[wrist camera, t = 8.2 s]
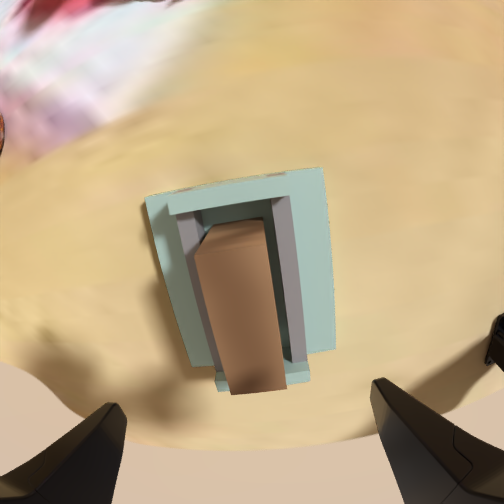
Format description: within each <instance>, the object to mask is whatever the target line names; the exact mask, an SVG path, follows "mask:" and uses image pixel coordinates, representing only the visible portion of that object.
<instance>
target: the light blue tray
mask: <svg viewBox="0 0 504 504" xmlns="http://www.w3.org/2000/svg"><path fill="white" fill-rule="evenodd" d="M145 202H146V207H147V211H148V216H149V220H150V224H151V229H152V233H153V237H154V241H155V245H156V249H157V253H158V257H159V261H160V265H161V269H162V272H163V276H164V280H165V283H166V287H167V290H168V294H169V297H170V301H171V304H172V307H173V311H174V314H175V317H176V320H177V324H178V327H179V330H180V333H181V336H182V339H183V342H184V345H185V348H186V351H187V354H188V357H189V360H190V363H191V365H192V367H200V366H215V369H216V377H215V384H216V387H217V390H218V392H222V391H230V389H229V386H228V383H227V379H226V376H225V373H224V369H223V366H222V362H221V359H220V356H219V352H218V348H217V345H216V341H215V338H214V334H213V330H212V327H211V323H210V319H209V315H208V311H207V308H206V304H205V300H204V296H203V292H202V288H201V284H200V280H199V276H198V271H197V267H196V263H195V259H194V255H195V253H196V251H197V250H198V248H199V247H200V245H201V243H202V242H203V240H204V239H205V237H206V235H207V234H208V232H209V231H210V229H211V227H212V226H213V224H219V223H225V222H231V221H237V220H243V219H250V218H256V217H263V223H264V229H265V236H266V242H267V249H268V255H269V262H270V268H271V275H272V281H273V288H274V295H275V301H276V308H277V315H278V322H279V329H280V337H281V345H282V353H283V361H284V369H285V377H286V385H289V384H296V383H302V382H308V381H310V370H309V366H308V361H307V354H311V353H317V352H323V351H328V350H334V349H336V330H335V301H334V282H333V266H332V252H331V240H330V228H329V218H328V208H327V199H326V191H325V182H324V175H323V168H322V167H315V168H307V169H299V170H291V171H284V172H277V173H270V174H263V175H256V176H250V177H244V178H238V179H232V180H226V181H220V182H215V183H209V184H204V185H199V186H194V187H188V188H184V189H179V190H174V191H169V192H164V193H160V194H155V195H151V196H148V197H145Z"/></svg>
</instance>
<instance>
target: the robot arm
mask: <svg viewBox="0 0 504 504" xmlns="http://www.w3.org/2000/svg"><path fill="white" fill-rule="evenodd" d="M493 363H496V364H497V365H498V366H499V367H500V368H501V370H502V371H503V372H504V314H502V315H500V316H499V317H498V319H497V322H496V326H495V330H494V334H493V337H492V341H491V344H490V347H489V350H488V354H487V357H486V360H485V364H486V366H489V365H491V364H493ZM370 401H371V405H372V409H373V413H374V416H375V420H376V424H377V428H378V432H379V436H380V439H381V442H382V444H383V447H384V449H385V452H386V455H387V457H388V460H389V462H390V465H391V468H392V470H393V473H394V476H395V479H396V481H397V484H398V487H399V489H400V492H401V495H402V498H403V500H404V503H405V504H504V451H503V450H501V449H499V448H497V447H494V446H492V445H490V444H488V443H486V442H484V441H482V440H480V439H478V438H476V437H474V436H472V435H470V434H469V433H467V432H466V431H464V430H462V429H461V428H459V427H458V426H455V425H454V424H453V423H452V422H450V421H448V420H447V419H445V418H444V417H442V416H441V415H439V414H438V413H436V412H435V411H433V410H432V409H430V408H429V407H427V406H426V405H424V404H423V403H421V402H420V401H418V400H417V399H416V398H414V397H413V396H411V395H410V394H408V393H407V392H405V391H404V390H402V389H401V388H399V387H398V386H396V385H395V384H393V383H392V382H391V381H389V380H388V379H386V378H384V377H382V378H378V379H374V380H373V381H372V386H371V394H370ZM126 426H127V418H126V416H125V414H124V413H123V411H122V409H121V408H120V406H119V405H118V404H117V403H113V402H107V403H105V404H104V405H103V406H102V407H100V408H99V409H98V410H96V411H95V412H94V413H93V414H91V415H90V416H89V417H87V418H86V419H85V420H83V421H82V422H81V423H80V424H78V425H77V426H75V427H74V428H73V429H72V430H70V431H69V432H68V433H66V434H65V435H64V436H62V437H61V438H60V439H58V440H57V441H56V442H54V443H53V444H51V445H50V446H49V447H47V448H46V449H45V450H43V451H42V452H41V453H39V454H38V455H36V456H35V457H33V458H32V459H30V460H29V461H27V462H26V463H24V464H22V465H21V466H19V467H17V468H15V469H14V470H12V471H10V472H8V473H7V474H5V475H3V476H0V504H111V503H112V498H113V494H114V489H115V484H116V480H117V476H118V471H119V467H120V463H121V459H122V454H123V448H124V440H125V433H126Z"/></svg>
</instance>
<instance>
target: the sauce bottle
mask: <svg viewBox="0 0 504 504" xmlns="http://www.w3.org/2000/svg"><path fill="white" fill-rule="evenodd" d="M3 141H4V122H3V117H2V114H1V113H0V150H1V149H2V146H3Z"/></svg>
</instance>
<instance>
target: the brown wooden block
mask: <svg viewBox="0 0 504 504" xmlns="http://www.w3.org/2000/svg"><path fill="white" fill-rule="evenodd" d="M194 259H195V263H196V267H197V271H198V276H199V280H200V284H201V288H202V292H203V296H204V300H205V304H206V308H207V311H208V315H209V319H210V323H211V327H212V330H213V334H214V338H215V341H216V345H217V348H218V352H219V356H220V359H221V362H222V366H223V369H224V373H225V376H226V379H227V383H228V386H229V389H230V393H231V395H238V394H249V393H259V392H267V391H276V390H283V389H287V385H286V377H285V369H284V361H283V353H282V345H281V337H280V329H279V322H278V315H277V308H276V301H275V295H274V288H273V281H272V275H271V268H270V262H269V255H268V249H267V242H266V236H265V229H264V223H263V217H256V218H250V219H243V220H237V221H231V222H225V223H219V224H213V226H212V227H211V229H210V231H209V232H208V234H207V235H206V237H205V239H204V240H203V242H202V243H201V245H200V247H199V248H198V250H197V251H196V253H195V255H194Z"/></svg>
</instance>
